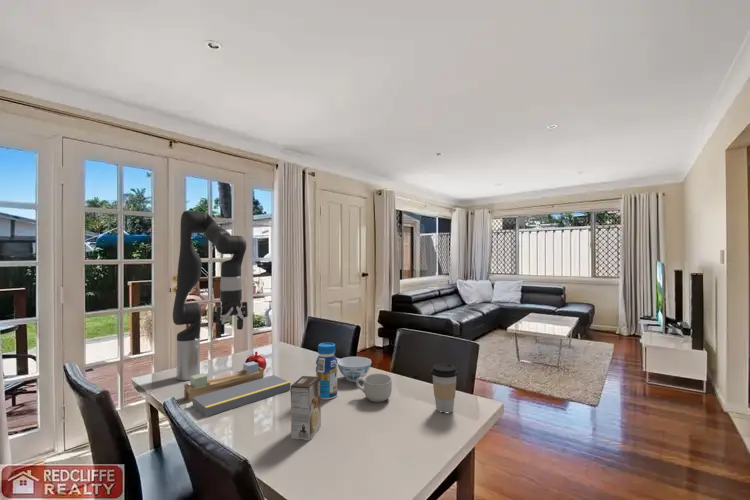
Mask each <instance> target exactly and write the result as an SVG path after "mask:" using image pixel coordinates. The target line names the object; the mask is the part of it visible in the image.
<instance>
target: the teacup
mask: <svg viewBox="0 0 750 500" xmlns="http://www.w3.org/2000/svg"><path fill="white" fill-rule="evenodd" d="M359 380H360V381H362V384H363V386H362V385H360V381H359ZM392 382H393V378H392V377H391V376H390V375H389V374H386V373H370V374H368V375H367V374H366V375H365V376H364V377H359V378H358V379H357V380H356V382H355V384H356V387H357V388H358V389H359V390H361V391H362V392H363V394H364V395H365V397H366V398H367V399H368V400H369V401H371V402H373V403H383V402H385V401H387V399H389V398H390V397H391V395H392V386H393V385H392Z"/></svg>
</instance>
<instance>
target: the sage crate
mask: <svg viewBox="0 0 750 500" xmlns="http://www.w3.org/2000/svg"><path fill="white" fill-rule="evenodd" d="M207 380H208V376H207V375H206V374H205V373H203V372H202V373H201V372H200V374H197V375H193V376H190V380H189V382H190V384H189V385H191V386H192V387H194V388H198V387H202V386H206V385H207Z"/></svg>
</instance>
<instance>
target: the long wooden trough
mask: <svg viewBox="0 0 750 500" xmlns="http://www.w3.org/2000/svg"><path fill="white" fill-rule="evenodd" d="M262 378H264V370H263V368H260V367H258V372H256V373H252V374H249V372H247V371H245V370H243V368H242V369H240V372H236V373H231V374H227V375H224V376H220V377H216V378H211V379H209V380H208V379H207V385H206V386H202V387H198V388H194V387H192V386H191V385H190V384H189V383H183V384H184V386H183V389H184V390H183V392H184V393H183V396H184V399H187V400H188V402H189V403H191V402H193V397H196V396H200V395H204V394H207V393H211V392H214V391H218V390H222V389H225V388H229V387H233V386H236V385H240V384H243V383H247V382H251V381H254V380H258V379H262Z"/></svg>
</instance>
